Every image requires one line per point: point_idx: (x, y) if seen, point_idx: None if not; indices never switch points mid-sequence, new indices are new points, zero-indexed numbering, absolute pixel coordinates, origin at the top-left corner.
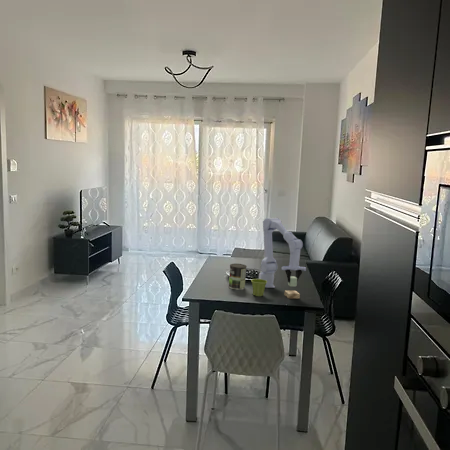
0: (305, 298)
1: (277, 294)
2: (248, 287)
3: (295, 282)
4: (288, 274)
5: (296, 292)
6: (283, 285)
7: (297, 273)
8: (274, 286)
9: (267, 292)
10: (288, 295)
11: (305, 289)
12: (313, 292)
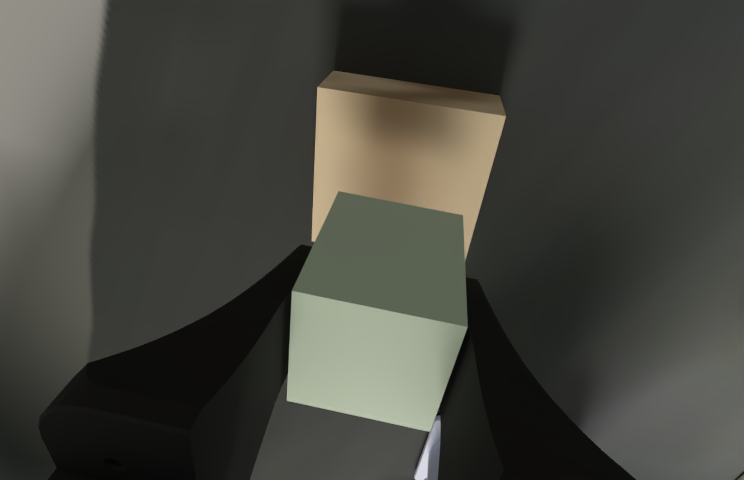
0: (247, 56)
1: (543, 258)
2: (696, 468)
3: (349, 237)
4: (569, 427)
5: (337, 168)
6: (323, 437)
7: (237, 412)
8: (435, 429)
9: (615, 332)
10: (503, 110)
11: (156, 328)
12: (93, 243)
